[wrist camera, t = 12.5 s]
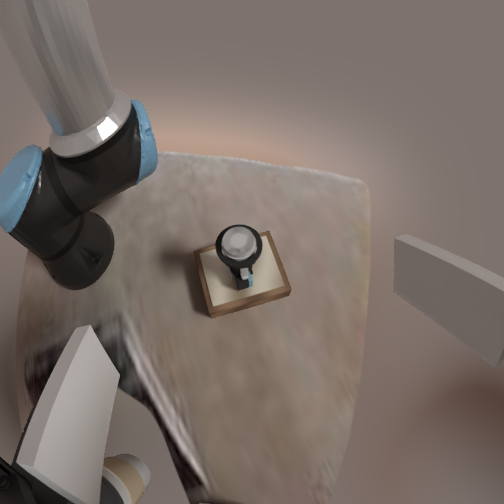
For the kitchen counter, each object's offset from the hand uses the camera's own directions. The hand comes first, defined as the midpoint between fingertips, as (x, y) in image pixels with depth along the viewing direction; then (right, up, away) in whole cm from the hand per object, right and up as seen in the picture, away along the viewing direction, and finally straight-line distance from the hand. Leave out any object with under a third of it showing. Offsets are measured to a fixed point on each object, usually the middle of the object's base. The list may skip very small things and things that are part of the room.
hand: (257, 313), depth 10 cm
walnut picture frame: (-2, -2, +32) cm, 32 cm away
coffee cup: (-19, -32, +17) cm, 41 cm away
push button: (-2, 0, +29) cm, 29 cm away
